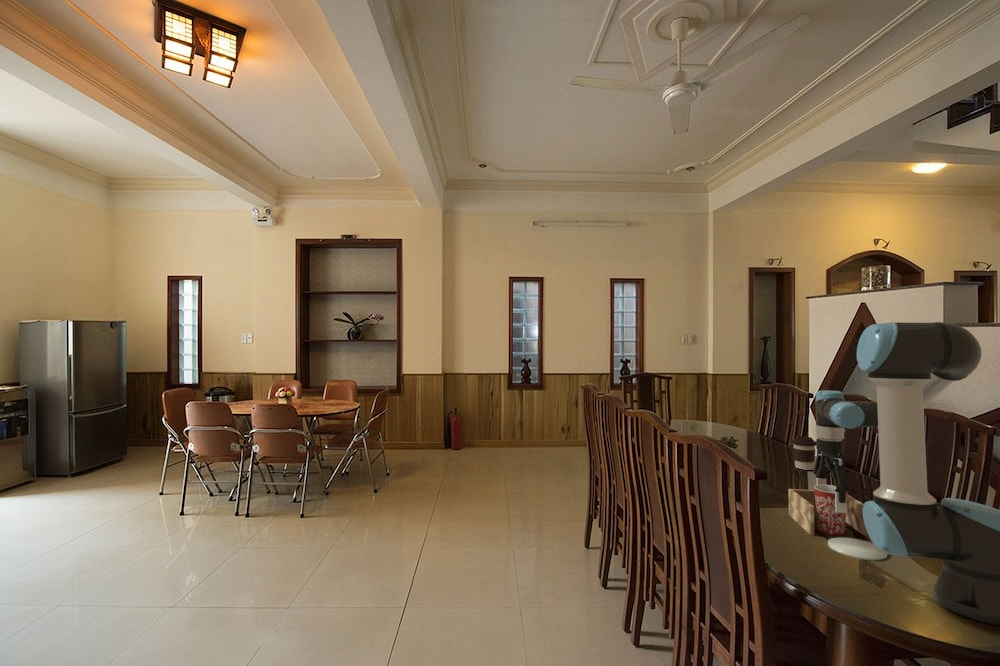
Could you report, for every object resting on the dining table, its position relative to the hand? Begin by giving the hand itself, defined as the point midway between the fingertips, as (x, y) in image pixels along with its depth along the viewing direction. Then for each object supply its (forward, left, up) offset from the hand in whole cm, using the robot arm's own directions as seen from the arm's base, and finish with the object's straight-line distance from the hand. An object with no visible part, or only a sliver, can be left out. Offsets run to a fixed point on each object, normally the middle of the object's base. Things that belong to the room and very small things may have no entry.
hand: (830, 505), depth 160 cm
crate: (+3, 0, -8) cm, 8 cm away
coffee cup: (+80, -21, -8) cm, 83 cm away
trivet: (-16, 0, -8) cm, 18 cm away
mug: (0, 0, -8) cm, 8 cm away
